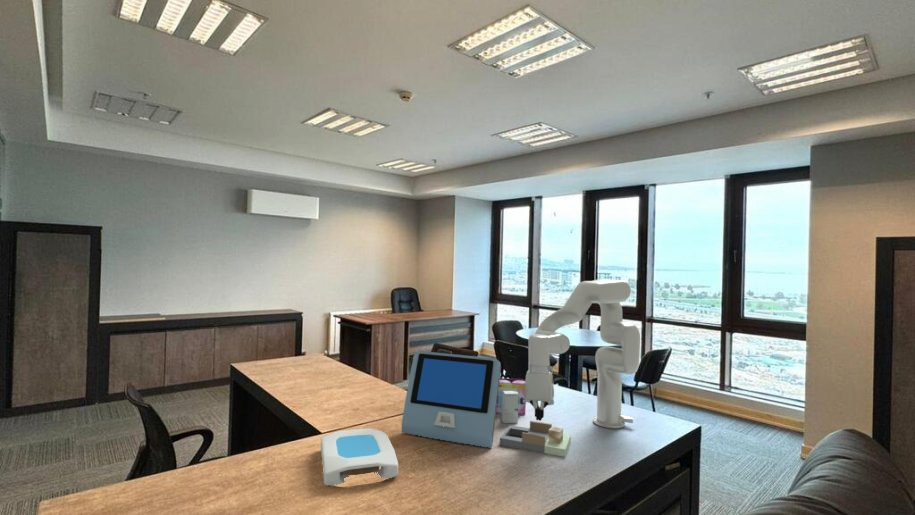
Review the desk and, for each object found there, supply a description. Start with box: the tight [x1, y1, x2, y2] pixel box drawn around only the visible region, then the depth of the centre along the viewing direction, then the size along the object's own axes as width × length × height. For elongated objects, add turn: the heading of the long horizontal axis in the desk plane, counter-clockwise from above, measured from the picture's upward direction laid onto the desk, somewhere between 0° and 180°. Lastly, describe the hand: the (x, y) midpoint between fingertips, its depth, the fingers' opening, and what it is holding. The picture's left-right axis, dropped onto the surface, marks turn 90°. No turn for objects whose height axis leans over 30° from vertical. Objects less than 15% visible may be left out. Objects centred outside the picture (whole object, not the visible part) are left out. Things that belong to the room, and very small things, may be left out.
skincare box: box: [501, 391, 519, 424], centre depth 180 cm, size 6×4×12 cm
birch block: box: [549, 425, 564, 444], centre depth 155 cm, size 4×4×4 cm
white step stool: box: [320, 427, 399, 486], centre depth 138 cm, size 21×28×6 cm
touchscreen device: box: [401, 350, 502, 449], centre depth 166 cm, size 35×20×30 cm, turn 70°
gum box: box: [496, 377, 527, 416], centre depth 194 cm, size 24×8×14 cm, turn 85°
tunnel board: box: [499, 420, 572, 458], centre depth 158 cm, size 23×14×6 cm, turn 68°
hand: (539, 419), depth 159 cm, fingers closed
